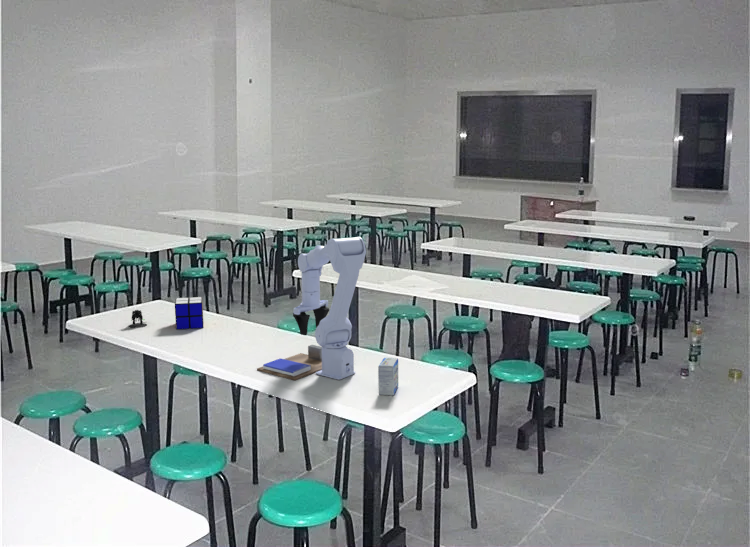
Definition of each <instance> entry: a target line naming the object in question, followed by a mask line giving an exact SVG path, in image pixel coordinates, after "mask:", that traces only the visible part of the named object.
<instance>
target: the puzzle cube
mask: <svg viewBox="0 0 750 547" xmlns="http://www.w3.org/2000/svg"><path fill="white" fill-rule="evenodd" d="M203 304H204V303H203V297H201V296H198V297H197V296H196V297H177V298H175V302H174V314H175V315H174V316H175V329H176V330H193V329H204V310H203V309H204V308H203V307H204V306H203Z"/></svg>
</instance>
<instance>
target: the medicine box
mask: <svg viewBox="0 0 750 547" xmlns="http://www.w3.org/2000/svg"><path fill="white" fill-rule="evenodd" d="M377 367H378V371H377V375H378V376H377V377H378V378H377V379H378V383H377V384H378V385H377V386H378V395H380V396H394V395H395V393H396V391H397V390H398V388H399V359H398V358H397V357H384V358H383V359H382V360H381V362H380V363H379V365H378V366H377Z"/></svg>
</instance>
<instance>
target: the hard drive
mask: <svg viewBox="0 0 750 547" xmlns="http://www.w3.org/2000/svg"><path fill="white" fill-rule="evenodd" d="M262 367H263V369H267V370H271V371H275V372H279V373H283V374H287V375H291V376H296V375H299V374H301V373H304V372H306V371H309V370H311V365H307V364H302V363H298V362H294V361H289V360H285V358H277V359H275V360H273V361H270V362H266V363H264V364H263V365H262Z"/></svg>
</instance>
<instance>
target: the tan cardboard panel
mask: <svg viewBox="0 0 750 547" xmlns="http://www.w3.org/2000/svg"><path fill="white" fill-rule="evenodd" d="M307 351H308V352H307V354H306V353H302V352H300V353H297V354H294V355H292V356H289V357H285V358H284V359H285V360H289V361H294V362H298V363H302V364H307V365H311V370H309V371H306V372H304V373H301V374H299V375H296V376H291V375H287V374H283V373H279V372H275V371H271V370H267V369H263V366H260V367H258V368H256V370H257V371H259V372H263V373H266V374H269V375H274V376H278V377H280V378H285V379H288V380H292V381H299V380H300V379H303V378H305V377H308V376H310V375H312V374H316V372H318V371H321V370H322V346H320V345H316V344H310V345H308V346H307Z"/></svg>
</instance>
